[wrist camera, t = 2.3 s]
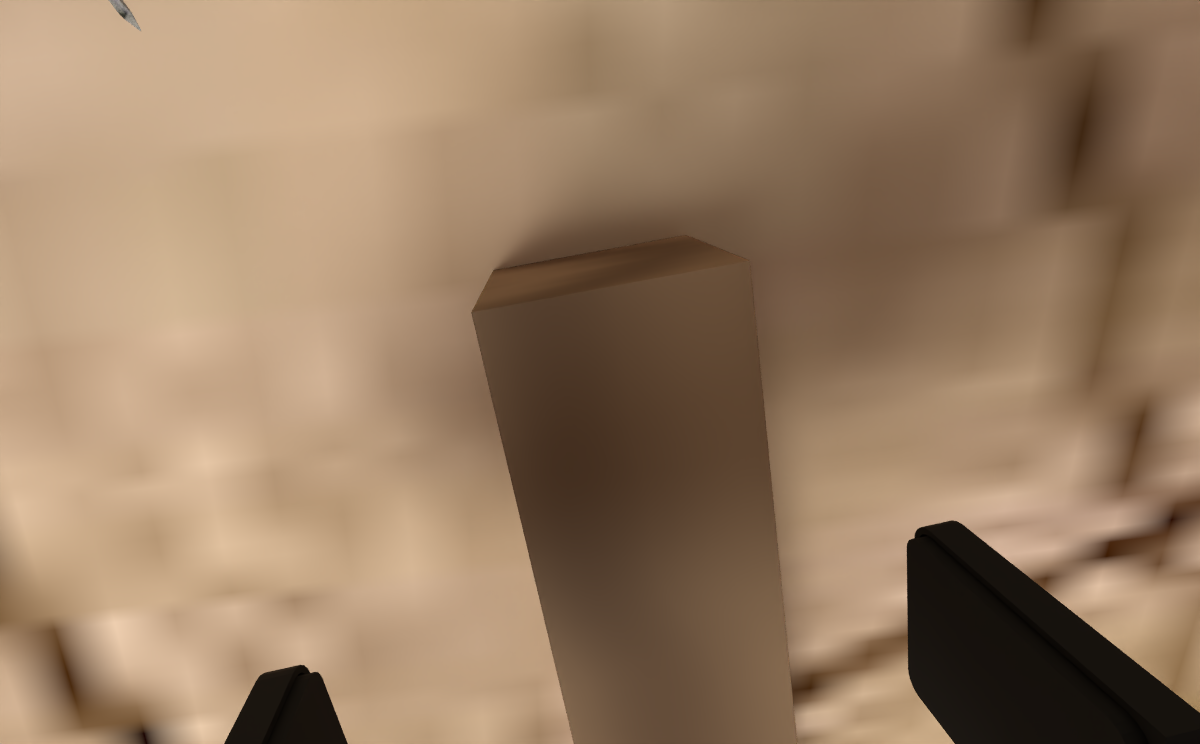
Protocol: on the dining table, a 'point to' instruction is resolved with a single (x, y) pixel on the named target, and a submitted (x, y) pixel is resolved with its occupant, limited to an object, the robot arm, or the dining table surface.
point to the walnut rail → (645, 488)
